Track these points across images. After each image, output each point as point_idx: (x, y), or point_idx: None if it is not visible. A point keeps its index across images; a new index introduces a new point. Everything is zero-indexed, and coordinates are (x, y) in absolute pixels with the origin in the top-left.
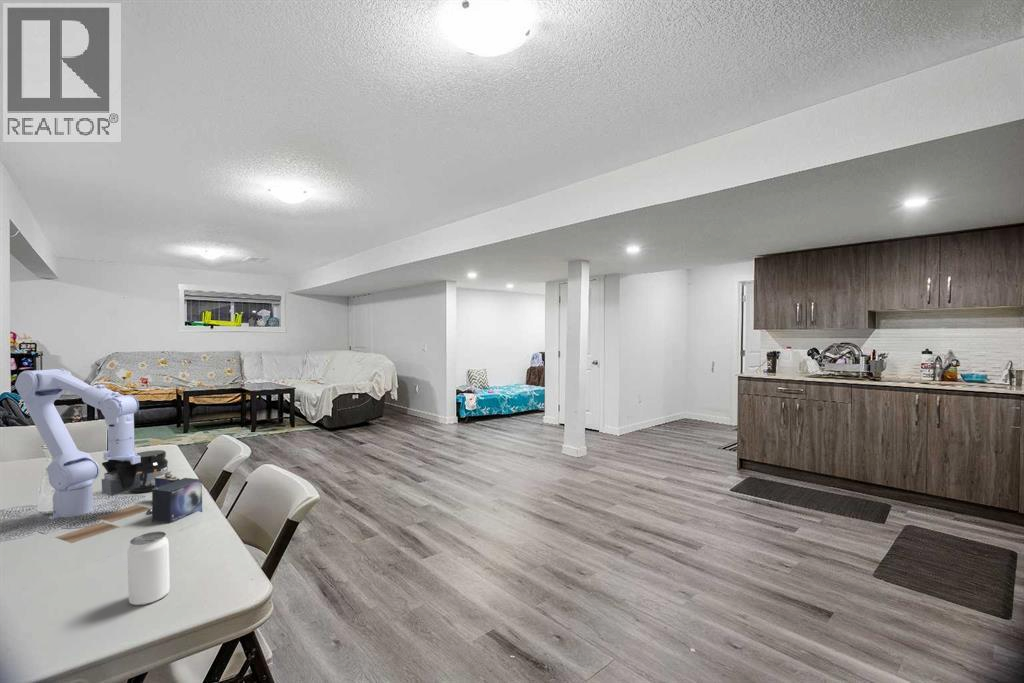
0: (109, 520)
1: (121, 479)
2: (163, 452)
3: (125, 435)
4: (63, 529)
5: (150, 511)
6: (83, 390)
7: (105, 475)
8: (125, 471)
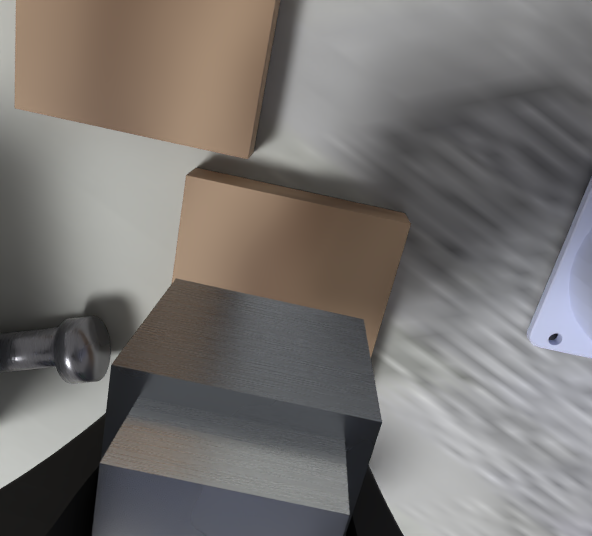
0: (232, 193)
1: (75, 464)
2: None
3: None
4: (531, 66)
5: (55, 345)
6: None
7: (312, 479)
8: None
